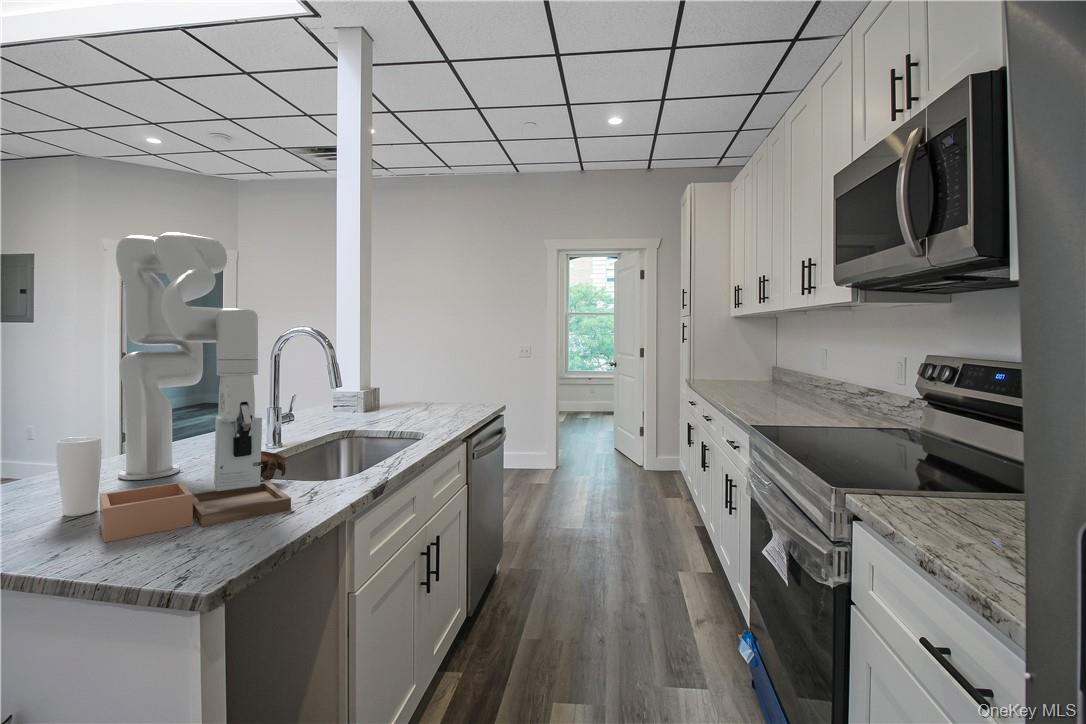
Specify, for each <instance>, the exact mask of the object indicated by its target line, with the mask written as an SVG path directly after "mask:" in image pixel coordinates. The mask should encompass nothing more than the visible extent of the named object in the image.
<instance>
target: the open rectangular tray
mask: <svg viewBox="0 0 1086 724" xmlns="http://www.w3.org/2000/svg"><path fill="white" fill-rule="evenodd" d="M192 493H193V492H191V490H190V489H189V488H188V486H187V485H186V484H185V483H184V482H183V481H178V482H171V483H165V484H164V483H163V484H158V485H157V484H156V485H150V486H143V487H137V488H136V487H135V488H130V489H124V490H123V489H122V490H116V491H109V492H101V493H99V524H100V529H101V534H102V539H103V543H104V542H105V543H109V541H110V542H114V541H119V540H124V539H130V538H134V537H138V536H145V535H149V534H154V533H159V532H160V533H161V532H165V531H169V530H174V529H175V530H176V529H180V528H185V527H190V526H193V525H194V519H193V518H194V516H193V494H192Z"/></svg>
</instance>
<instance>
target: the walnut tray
mask: <svg viewBox="0 0 1086 724" xmlns="http://www.w3.org/2000/svg"><path fill="white" fill-rule="evenodd" d="M191 493H192V494H193V518H194V519H195V520H196V522H197V523H198V525H199V526H200V528H207V527H211V526H212V527H213V526H217V525H221V524H226V522H227V523H231V522H237V521H240V520H246V519H252V518H256V517H261V516H266V515H267V516H268V515H271V514H277V513H281V512H285V511H286V512H287V511H291V510H292V497H290V496H289V495H288V494H286V493H285V492H284V491H282V490H281V489H279V488H278V487H277V486H275V484H273V483H272V482H271V481H270V480H265V481H260V486H255V487H245V488H239V489H231V490H224V491H216V489H212V490H206V491H199V492H194V493H193V492H191Z"/></svg>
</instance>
